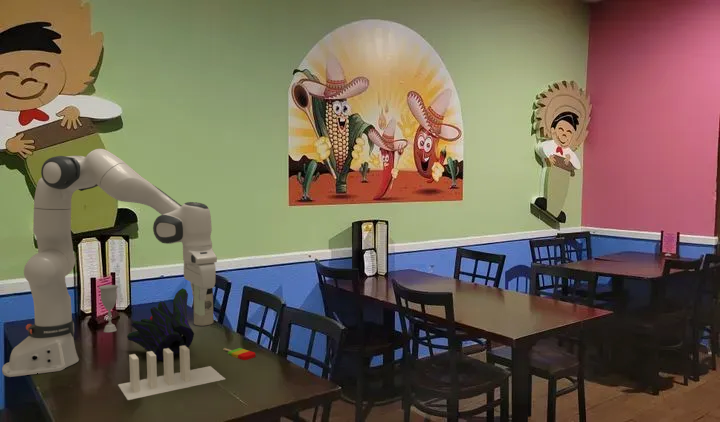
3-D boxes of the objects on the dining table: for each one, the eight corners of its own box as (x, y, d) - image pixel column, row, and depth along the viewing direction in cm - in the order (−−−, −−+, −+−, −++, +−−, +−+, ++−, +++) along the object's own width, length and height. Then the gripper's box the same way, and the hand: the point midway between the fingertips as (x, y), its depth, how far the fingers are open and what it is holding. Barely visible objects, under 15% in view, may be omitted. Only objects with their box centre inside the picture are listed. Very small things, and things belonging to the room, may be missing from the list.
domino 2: (151, 389, 173) (150, 356, 172) (147, 383, 177) (146, 351, 176) (157, 387, 174) (156, 355, 173) (152, 382, 178) (151, 351, 177)
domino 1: (134, 392, 170) (133, 359, 169) (130, 387, 174) (129, 354, 174) (139, 391, 171) (138, 358, 170) (135, 386, 175) (134, 353, 175)
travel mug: (192, 322, 247) (190, 280, 245) (210, 320, 251) (209, 279, 249) (196, 327, 240) (195, 284, 238) (215, 324, 244) (214, 282, 242)
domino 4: (185, 382, 179) (184, 350, 178) (180, 377, 183) (179, 346, 182) (190, 381, 179) (189, 349, 179) (185, 376, 184) (184, 345, 183)
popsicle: (244, 362, 199) (244, 356, 199) (217, 353, 209) (217, 348, 209) (257, 357, 204) (257, 352, 203) (229, 349, 213) (229, 344, 213)
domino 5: (199, 311, 185) (198, 280, 184) (204, 315, 181) (203, 283, 180) (194, 312, 184) (193, 281, 183) (199, 316, 180) (198, 284, 179)
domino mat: (127, 401, 165) (127, 400, 165) (117, 385, 177) (117, 384, 177) (225, 380, 181) (225, 379, 181) (210, 367, 193) (210, 366, 193)
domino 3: (168, 385, 176) (167, 353, 175) (164, 380, 180) (163, 349, 179) (174, 384, 177) (173, 352, 176) (169, 379, 181) (168, 348, 180)
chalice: (123, 329, 236) (121, 286, 235) (108, 334, 230) (106, 289, 229) (112, 327, 240) (110, 284, 238) (97, 331, 234) (95, 287, 233)
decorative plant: (152, 388, 199) (131, 343, 222) (221, 349, 209) (194, 310, 232) (128, 344, 188) (109, 302, 212) (201, 305, 198) (175, 269, 222)
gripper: (177, 251, 188) (179, 293, 189) (198, 259, 171) (199, 305, 172) (197, 249, 191) (198, 290, 192) (218, 257, 174) (220, 302, 175)
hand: (199, 297), depth 182 cm, fingers closed on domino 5, 5 cm apart
